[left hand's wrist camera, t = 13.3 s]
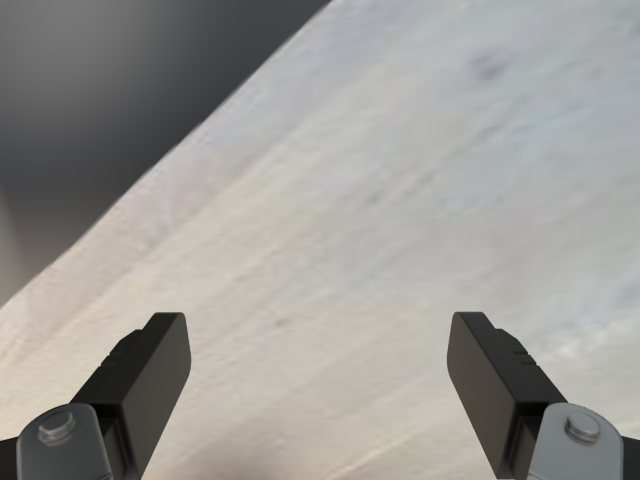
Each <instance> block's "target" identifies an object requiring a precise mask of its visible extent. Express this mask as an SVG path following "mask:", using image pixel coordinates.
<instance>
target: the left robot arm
mask: <svg viewBox="0 0 640 480" xmlns="http://www.w3.org/2000/svg"><path fill="white" fill-rule="evenodd" d="M447 367H448V372H449V376H450V378H451V380H452V382H453V385H454V387H455V389H456V391H457V393H458V395H459V398H460V400H461V402H462V404H463V406H464V409H465V411H466V413H467V415H468V417H469V419H470V422H471V424H472V426H473V428H474V430H475V432H476V435H477V437H478V439H479V441H480V443H481V445H482V448H483V450H484V452H485V454H486V456H487V459H488V461H489V463H490V465H491V467H492V469H493V472H494V474H495V476H496V478H497V479H515V480H640V440H637V439H632V438H628V437H624V436H621V435H620V434H619V432H618V431H617V429H616V428H615V427H614V426H613V425H612V424H611V423H610V422H609V421H607V420H606V419H605V418H604V417H602V416H600V415H599V414H597V413H595V412H594V411H592V410H590V409H587V408H585V407H582V406H579V405H576V404H571V403H568V401H567V400H566V399H565V398H564V397H563V395H562V394H561V393H560V392H559V390H558V389H557V388H556V387H555V385H554V384H553V383H552V382H551V380H550V379H549V378H548V377H547V375H546V374H545V373H544V372H543V370H542V369H541V368H540V367H539V365H536V362H535V361H534V359H533V358H532V357H531V356H530V355H528V352H527V351H526V349H525V348H524V347H523V346H522V344H521V343H520V342H519V341H518V339H516V338H515V337H513V336H512V335H510V334H509V333H507V332H506V331H504V330H503V329H495V328H494V326H493V325H492V324H491V322H490V321H489V320H488V318H487V317H486V316H485V314H484V313H483V312H455V313H454V315H453V318H452V324H451V331H450V338H449V345H448V352H447ZM190 368H191V352H190V345H189V339H188V332H187V325H186V319H185V316H184V314H183V313H181V312H157V313H155V314H154V315H153V316H152V317H151V319H150V320H149V321H148V323H147V324H146V325H145V327H144V328H143V329H142V330H134V331H133V332H132V333H130V334H129V335H127V336H126V337H124V338H123V339H121V340H120V341H119V342H118V343H117V345H116V346H115V347H114V348H113V349H112V351H111V352H110V355H109V356H107V357H106V358H105V359H104V361H103V362H102V363H101V366H99V367H98V368H97V369H96V370H95V372H94V373H93V374H92V375H91V377H90V378H89V379H88V380H87V381H86V383H85V384H84V385H83V386H82V388H81V389H80V390H79V391H78V393H77V394H76V395H75V396H74V397H73V399H72V400H71V401H70V402H69V404H64V405H61V406H58V407H55V408H53V409H50V410H48V411H46V412H45V413H43V414H41V415H40V416H38V417H36V418H35V419H34V420H33V421H31V422H30V423H29V424H28V425H27V426H26V427H25V428H24V429H23V431H22V432H21V434H20V435H19V436H18V437H14V438H10V439H6V440H2V441H0V480H141V478H142V476H143V473H144V471H145V469H146V467H147V465H148V463H149V461H150V458H151V456H152V454H153V452H154V450H155V448H156V446H157V443H158V441H159V439H160V437H161V435H162V433H163V430H164V428H165V426H166V424H167V422H168V420H169V418H170V415H171V413H172V411H173V409H174V407H175V405H176V403H177V400H178V398H179V396H180V394H181V392H182V390H183V387H184V385H185V383H186V381H187V379H188V376H189V373H190Z"/></svg>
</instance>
